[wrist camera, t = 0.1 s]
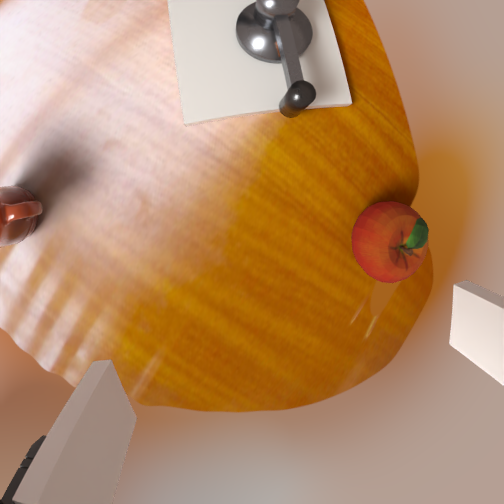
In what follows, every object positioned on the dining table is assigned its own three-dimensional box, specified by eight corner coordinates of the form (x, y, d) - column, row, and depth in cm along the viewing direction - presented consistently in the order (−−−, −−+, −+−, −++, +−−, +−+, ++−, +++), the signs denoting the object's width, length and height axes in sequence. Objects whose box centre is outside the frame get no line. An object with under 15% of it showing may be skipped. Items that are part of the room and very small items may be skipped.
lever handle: (226, -10, 29) (228, -38, 23) (295, -13, 30) (307, -40, 24) (252, 122, 33) (259, 109, 27) (328, 114, 34) (349, 101, 28)
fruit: (330, 260, 39) (363, 282, 30) (355, 188, 38) (395, 189, 28) (389, 280, 41) (430, 304, 31) (412, 214, 39) (459, 223, 29)
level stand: (166, -14, 30) (157, -50, 22) (309, -27, 31) (326, -60, 23) (185, 126, 34) (175, 109, 26) (347, 106, 36) (377, 88, 27)
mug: (4, 248, 35) (-40, 265, 25) (-3, 187, 33) (-50, 191, 23) (69, 237, 36) (27, 254, 26) (62, 169, 34) (17, 167, 24)
